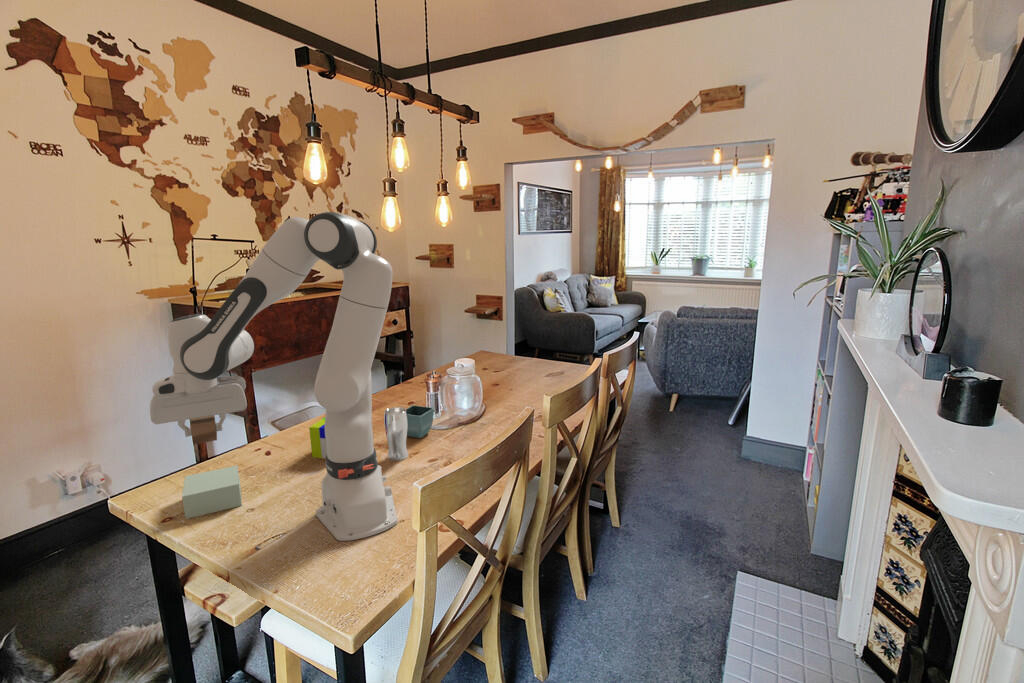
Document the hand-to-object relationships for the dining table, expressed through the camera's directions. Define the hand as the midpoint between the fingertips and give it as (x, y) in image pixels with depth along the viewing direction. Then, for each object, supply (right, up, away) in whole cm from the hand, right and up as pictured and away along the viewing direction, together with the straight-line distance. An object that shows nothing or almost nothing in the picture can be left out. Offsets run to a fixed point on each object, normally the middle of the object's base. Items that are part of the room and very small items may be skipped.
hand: (204, 433), depth 122 cm
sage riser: (0, -18, +4) cm, 19 cm away
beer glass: (+42, -13, +29) cm, 53 cm away
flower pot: (+45, -9, +45) cm, 64 cm away
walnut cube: (0, -2, 0) cm, 2 cm away
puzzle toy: (+21, -12, +33) cm, 41 cm away
